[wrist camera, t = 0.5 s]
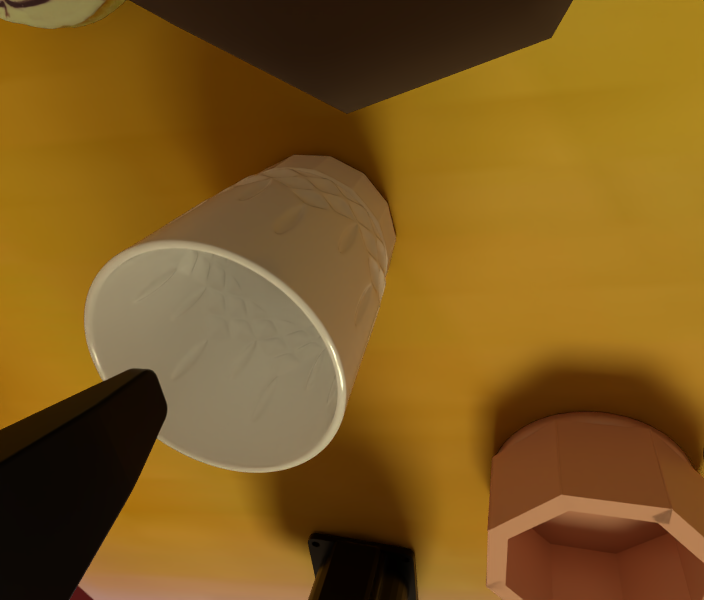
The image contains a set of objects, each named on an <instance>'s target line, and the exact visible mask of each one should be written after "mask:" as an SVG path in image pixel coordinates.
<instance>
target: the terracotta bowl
mask: <svg viewBox="0 0 704 600" xmlns="http://www.w3.org/2000/svg"><path fill="white" fill-rule="evenodd" d="M487 531H488V551H487V577H486V587H487V588H489V589H490V590H491V591H492V592H494V593H495V594H496V595H498V596H499V597H500V598H501V599H503V600H704V478H703V477H702V476H701V475H700V474H699V473H698V472H697V471H696V470H694V469H693V467H692V465H691V463H690V461H689V459H688V457H687V456H686V454H685V453H684V452H683V450H682V449H681V448H680V447H679V446H678V445H677V444H676V443H675V442H674V441H673V440H671V439H670V438H669V437H668V436H666V435H665V434H663V433H662V432H660V431H659V430H657V429H655V428H654V427H651V426H649V425H647V424H645V423H643V422H640V421H637V420H635V419H632V418H629V417H625V416H620V415H616V414H610V413H603V412H587V411H584V412H569V413H563V414H557V415H553V416H549V417H545V418H542V419H540V420H537V421H534V422H532V423H530V424H528V425H526V426H524V427H523V428H521V429H520V430H518V431H517V432H515V433H514V434H513V435H512V436H511V437H510V438H509V439H508V440H507V441H506V442H505V443H504V444H503V446H502V447H501V448H500V450H499V452H498V454H497V455H495V456H493V457H492V469H491V484H490V500H489V515H488V530H487Z"/></svg>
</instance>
